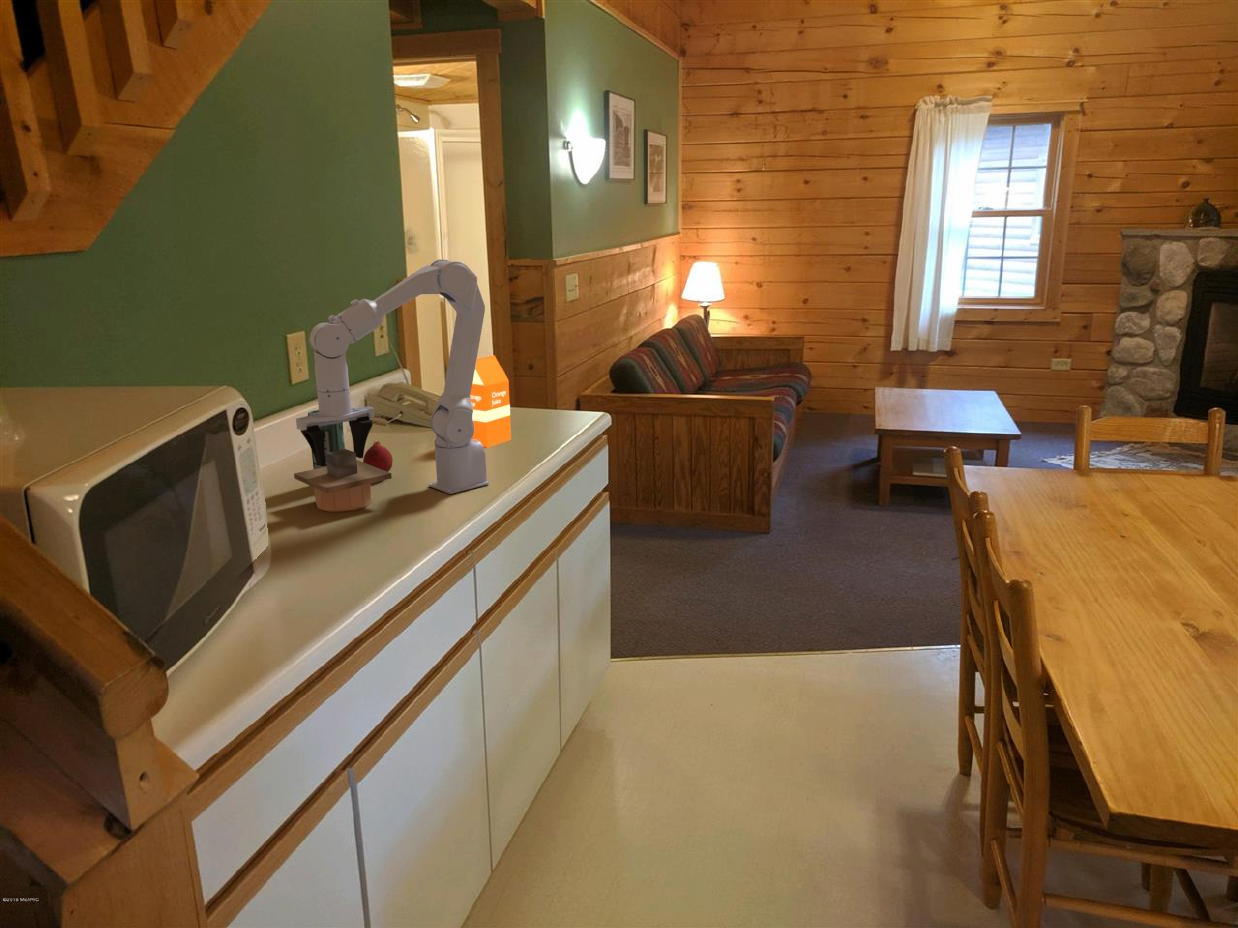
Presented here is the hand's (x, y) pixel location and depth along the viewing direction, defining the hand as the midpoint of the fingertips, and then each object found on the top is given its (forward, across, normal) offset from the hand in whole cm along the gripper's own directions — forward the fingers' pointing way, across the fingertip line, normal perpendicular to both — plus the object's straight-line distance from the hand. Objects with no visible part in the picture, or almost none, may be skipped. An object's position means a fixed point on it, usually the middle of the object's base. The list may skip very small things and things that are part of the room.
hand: (340, 461), depth 172 cm
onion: (+8, -13, -10) cm, 18 cm away
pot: (+8, 0, 0) cm, 8 cm away
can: (+8, -4, -13) cm, 16 cm away
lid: (+3, 0, 0) cm, 3 cm away
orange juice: (+9, -47, -20) cm, 52 cm away
